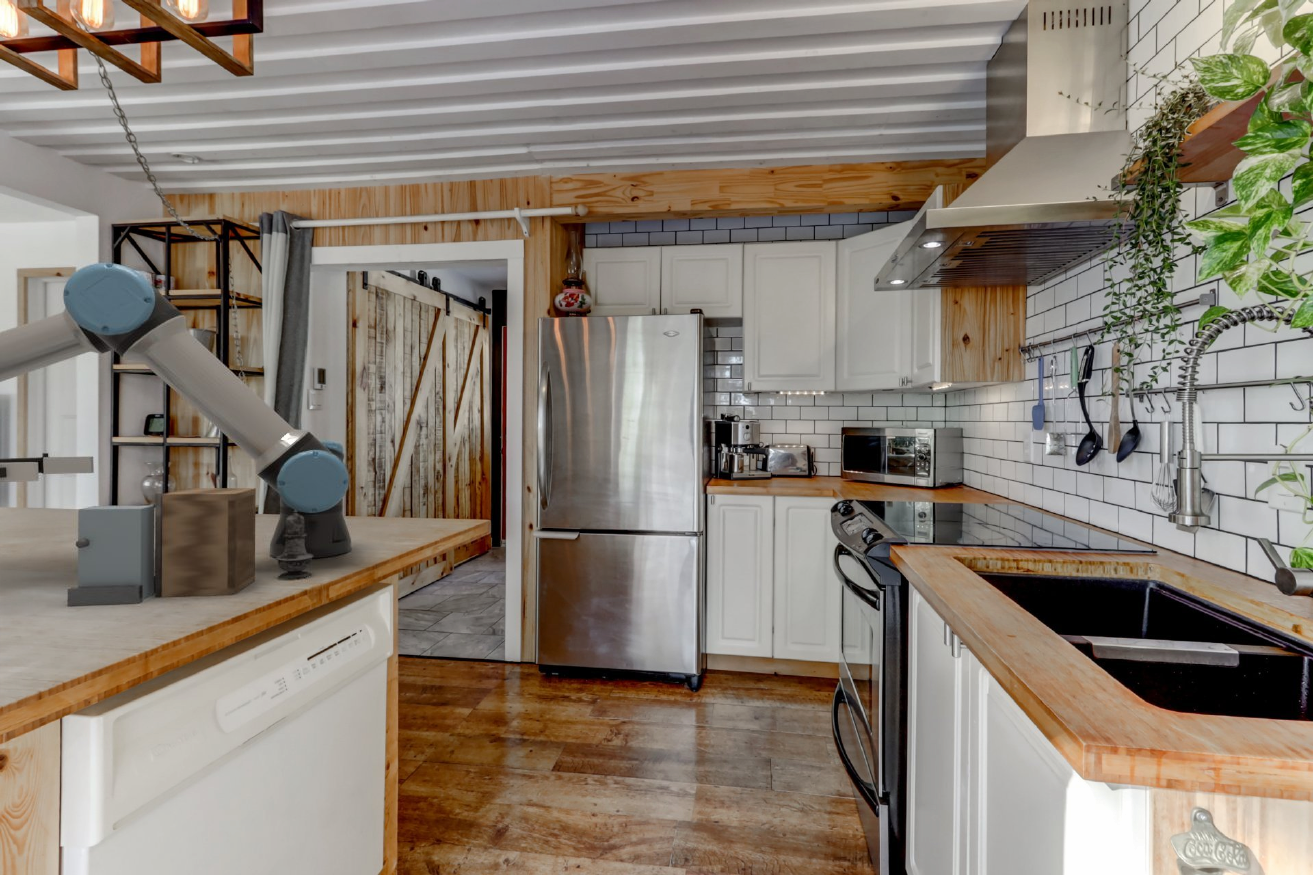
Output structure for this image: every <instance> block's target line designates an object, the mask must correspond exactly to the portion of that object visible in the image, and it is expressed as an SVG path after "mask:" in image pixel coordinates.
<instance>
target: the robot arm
mask: <svg viewBox="0 0 1313 875" xmlns="http://www.w3.org/2000/svg"><path fill="white" fill-rule="evenodd" d="M62 293H63V296H62V297H63V304H64V306H65V308H64V309H63V312H62V311H61V312H59V313H56V314H54V315H50V316H47V317H44V318H40V319H38V320H34V321H32V322H28V323H25V324H22V325H19V326H16V327H13V328H10V329H6V330H3V331H0V383H2V382H5V381H7V380H11V379H12V378H13V379H14V378H16V377H19V376H23V375H26V374H29V373H30V372H34V371H37V370H40V369H42V368H45V367H49V366H51V365H55V364H57V363H60V362H63V361H66V360H69V359H72V358H76V357H79V356H81V355H85V354H86V353H94V354H95V353H96V354H99V355H102V354H105V353H108V352H111V351H114V352H116V353H117V354H118V355H119V356H120V357H121V358H122V359H123V360H125V361H134V362H141V363H143V365H145V366H146V367H147V368H149V370H151V371H152V372H153V373H154V374H155V375H156V376H158V378H160V379H161V380H162V382H164V383H165V384H166V385H168V386H169V387H170V388H171V389H172V390H174V391H175V392H176V393H177V394H178V395H180V397H182V398H183V399H184V400H185V401H186V402H187V403H188V404H190V406H192V407H193V408H194V409H195V410H197V411H198V412H199V413H200V414H201V415H202V416H203V417H204V418H205V419H207V420H208V422H210V423H211V424H212V425H214V427H216V428H217V429H218V430H219V431H220V432H222V433H223V434H224V435H225V436H226V437H227V438H228V439H230V440H231V441H232V442H233V443H234V444H235V445H236V446H237V447H238V448H240V449H241V450H242V451H243V452H245V453H246V455H248V456H249V457H250V458H251V459H252V460H253V461H254V462H255V474H256V475H257V476H258V477H259V478H261V480H263V481H264V482H265V483H266V484H267V485H268V486H270V487H271V488H272V489H273V490H274V491H275V492H276V493H278V495H279V498H280V499H279V507H280V508H279V519H278V521H277V523H276V524H277V525H276V527H275V530H274V532H273V535H272V538H271V540H270V543H269V556H270V557H273V558H276V557H277V556H280V555H282V554H283V553H284V550H285V547H286V538H285V537H284V535H285V534H286V520H287V518H288V517H289V516H291V515H292V514H294V510H295V509H296V510H297V511H298V512H297V514H299V515H301V516H303V517H304V533H305V534H307V535H306V536H305V544H304V546H305V549H306V552H307V553H310V554H313V555H314V556H313V557H312V559H319V558H326V557H327V558H328V557H333V556H338V554H339V555H342V554H343V555H344V554H345V552H346V553H348V551H349V552H350V551H351V550H352V537H351V534H350V531H349V529H348V525H347V524H346V519H345V518H344V512H343V511H344V510H343V508H344V506H343V505H344V504H343V503H344V497H345V495H346V493H347V491H348V490H349V485H350V474H349V470H348V468H347V466H346V464H345V463H344V460H345V453H344V447H343V445H342V443H339V442H336V441H330V440H329V441H328V440H327V441H326V440H319V439H318V438H316V437H315V436H314V434H312V433H311V431H309V430H307V429H296V428H294V427H292V426H291V425H290V424H289V423H288V422H287V421H286V420H285V419H284V418H283V417H282V416H280V414H278V413H277V412H276V411H275V410H274V409H273V408H272V407H271V406H269V405H268V404H267V403H266V402H265V401H264V400H263V399H262V398H261V397H260V396H259V395H257V393H256V392H255V391H253V389H252V388H250V387H249V386H248V385H247V384H246V383H244V381H242V380H241V379H240V378H239V377H238V376H237V375H236V374H235V373H234V372H233V371H232V370H230V368H229V367H227V365H225V364H224V363H223V362H222V361H221V360H220V359H219V358H218V357H216V356H215V355H214V354H213V353H212V352H211V351H210V350H209V349H208V348H207V347H205V345H204V344H202V343H201V342H200V341H199V340H198V339H197V338H196V337H195V336H194V335H193V334H191V332H189V331H188V329H187V317H186V315H184V314H183V313H182V312H181V311H180V310H179V308H177V307H176V306H175V305H173V303H171V301H169V299H168V298H166V297H165V296H164V295H163V294H162V293H161V292H160V290H158V288H156V287H155V286H154V285H152V284H151V282H149V280H148V279H147V277H145V276H144V275H143V274H142V273H141V272H139V271H138V270H135V269H133V268H130V267H129V266H125V265H122V264H117V263H110V262H101V263H100V262H99V263H98V262H96V263H93V264H89V265H86V266H84V267H82V268H80V269H78V270H77V271H75V272H73V274H72V275H71V276H70V277H68V279H67V281H66V283H65V285H64V289H63V292H62ZM94 470H95V467H94V456H49V453H48V452H45V453H44V452H42V456H41V457H40V456H39V457H17V458H16V457H15V458H14V457H13V458H11V457H10V458H0V483H13V482H19V483H20V482H39V479H40V478H39V474H43V475H55V474H56V475H58V474H59V475H60V474H67V475H68V474H70V475H71V474H94V473H95V472H94Z"/></svg>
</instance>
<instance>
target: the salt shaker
mask: <svg viewBox="0 0 1313 875" xmlns="http://www.w3.org/2000/svg"><path fill="white" fill-rule="evenodd" d="M297 512H298V511H297V510H296V509H295V510H294V514H292V515H291V516H289V517H288V518H287V520H286V534H285V535H284V537H285V538H286V547H285V550H284V553H283V554H282V555H280V556H277V557H275V560H277V564H278V567H279V569H280V570H282V571H284V572H282V573H280V574H279V575H278V576H277V579H278V578H279V580H281V579H282V580H281V581H294V580H295V579H297V580H301V579H300V578H304V579H306V578H307V577H308V578H310V577H311V576H312V573H311V572H309V571H306V569H307V568H309V566H310V565H311V563H312V559H313V558H312V557H313V556H314V555H313V554H310V553H307V552H306V549H305V546H304V544H305V536H306V535H307V534H305V533H304V517H303V516H301V515H299V514H297ZM309 576H310V577H309Z"/></svg>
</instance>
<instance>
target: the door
mask: <svg viewBox="0 0 1313 875" xmlns="http://www.w3.org/2000/svg"><path fill="white" fill-rule="evenodd" d="M77 511H78V512H77V513H78V514H77V515H78V516H77V517H78V518H77V521H78V522H77V523H78V524H77V526H78V527H77V536H78V537H77V538H78V539H77V540H76V542H75V547H77V549H78V550H77V587H98V586H128V585H143V600H145V599H146V598H149V597H151V596H152V595H155V592H154V575H155V505H92V506H89V507H88V506H87V507H83V508H79V509H78V510H77Z"/></svg>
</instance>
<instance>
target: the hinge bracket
mask: <svg viewBox="0 0 1313 875" xmlns="http://www.w3.org/2000/svg"><path fill="white" fill-rule="evenodd" d="M154 593H155V574H154ZM143 600H144V599H143V585H128V586H98V587H78V586H74V587H73V586H72V587H69V588H67V602H66V603H67V604H66V605H67V607H75V606H81V607H82V606H99V605H101V606H102V605H103V606H105V605H126V604H127V605H129V604H141V603H143Z"/></svg>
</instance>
